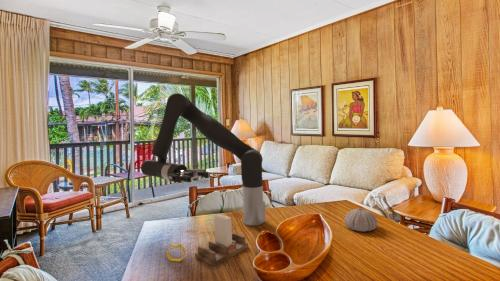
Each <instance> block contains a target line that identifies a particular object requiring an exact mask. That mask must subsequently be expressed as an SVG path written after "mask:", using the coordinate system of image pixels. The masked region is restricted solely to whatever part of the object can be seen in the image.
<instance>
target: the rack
mask: <svg viewBox="0 0 500 281" xmlns="http://www.w3.org/2000/svg"><path fill="white" fill-rule="evenodd" d="M248 248H249V243H248V242H246V236H245V235H242V234H239V233H237V232H234V231H232V244H231V245H229V246H228V247H227V250H228V253H226V246H223V245H221V244H218V243H216V242H215V241H214V240H209V241H208V246H207V247H204V246H202V245H197V251H196V252H195V253H194V257H195V258H196V259H198V260H200V261H202V262H204V263H206V264H208V265H209V266H212V267H215V268H216V267H217V266H219V265H221V264H222V263H223V262H226V261H227V260H229V259H231V258H232V257H234V256H236V255H237V254H239V253H241V252H242V251H244V250H246V249H248Z"/></svg>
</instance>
